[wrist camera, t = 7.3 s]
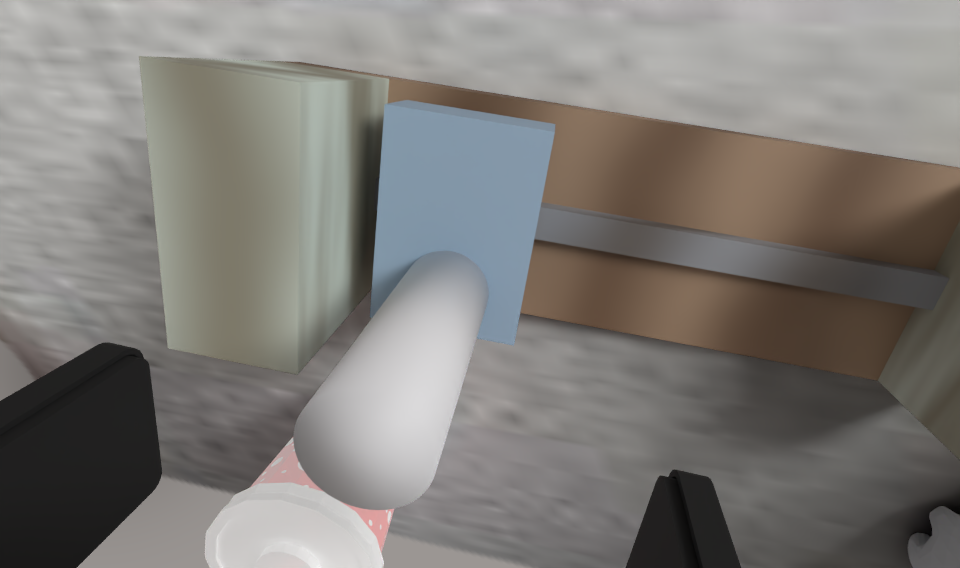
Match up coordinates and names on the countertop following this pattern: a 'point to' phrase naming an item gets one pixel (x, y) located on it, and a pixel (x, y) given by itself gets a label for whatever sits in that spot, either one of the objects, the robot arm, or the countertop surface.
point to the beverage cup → (294, 525)
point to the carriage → (427, 297)
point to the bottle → (937, 542)
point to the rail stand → (555, 229)
